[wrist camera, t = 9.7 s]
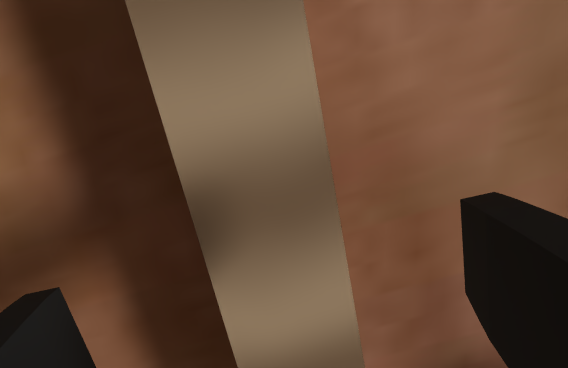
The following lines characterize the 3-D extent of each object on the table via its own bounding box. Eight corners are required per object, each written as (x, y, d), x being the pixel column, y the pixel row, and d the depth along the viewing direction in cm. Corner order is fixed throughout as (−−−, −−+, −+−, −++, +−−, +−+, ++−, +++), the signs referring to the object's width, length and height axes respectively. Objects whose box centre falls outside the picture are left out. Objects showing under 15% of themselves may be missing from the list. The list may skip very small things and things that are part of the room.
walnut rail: (349, 339, 22) (373, 418, 19) (255, 360, 22) (260, 442, 19) (223, -360, 13) (222, -478, 9) (59, -325, 13) (-8, -429, 9)
